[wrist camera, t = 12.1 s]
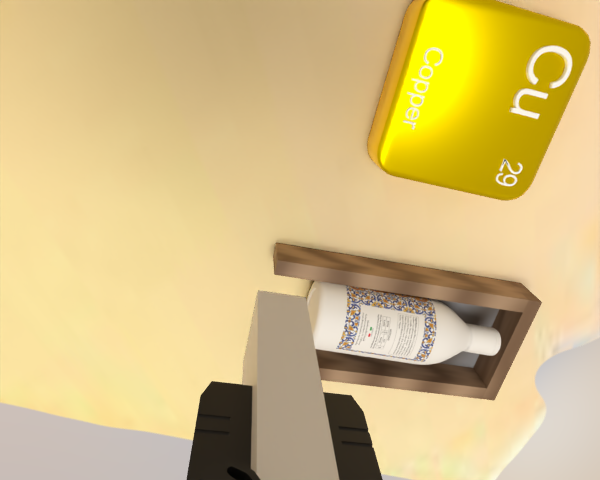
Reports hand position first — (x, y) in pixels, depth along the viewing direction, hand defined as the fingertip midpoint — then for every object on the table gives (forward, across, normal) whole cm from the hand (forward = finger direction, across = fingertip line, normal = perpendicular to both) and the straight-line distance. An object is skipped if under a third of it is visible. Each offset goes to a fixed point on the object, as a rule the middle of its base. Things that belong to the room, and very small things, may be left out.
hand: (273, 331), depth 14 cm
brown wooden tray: (+29, +17, -16) cm, 37 cm away
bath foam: (+25, +7, -14) cm, 30 cm away
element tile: (+30, +17, +7) cm, 35 cm away
